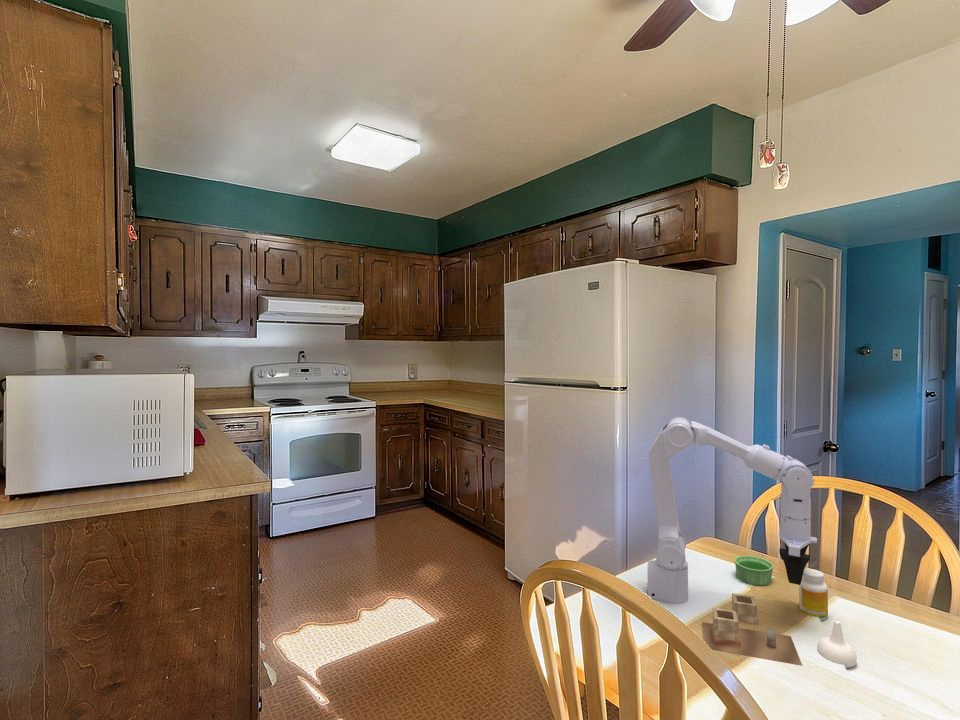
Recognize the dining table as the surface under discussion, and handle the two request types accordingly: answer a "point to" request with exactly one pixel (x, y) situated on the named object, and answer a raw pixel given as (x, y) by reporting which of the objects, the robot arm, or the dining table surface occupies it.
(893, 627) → the dining table surface
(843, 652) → the garlic bulb
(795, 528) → the robot arm
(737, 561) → the ramekin
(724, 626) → the seated sleeve
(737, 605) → the banded sleeve
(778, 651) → the pin board
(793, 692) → the dining table surface
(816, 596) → the supplement bottle
